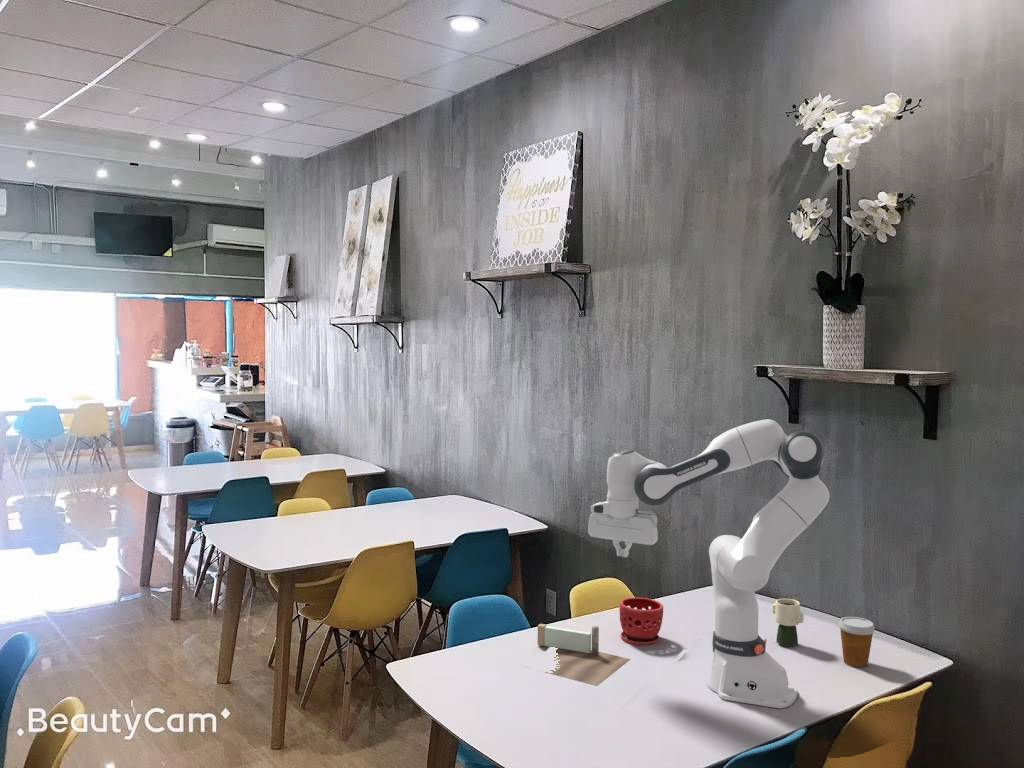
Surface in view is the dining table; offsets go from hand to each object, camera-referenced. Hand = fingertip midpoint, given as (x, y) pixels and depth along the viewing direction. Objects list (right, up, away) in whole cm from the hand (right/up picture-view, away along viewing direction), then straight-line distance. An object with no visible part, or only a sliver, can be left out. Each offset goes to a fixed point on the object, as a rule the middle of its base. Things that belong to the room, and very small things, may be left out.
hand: (622, 556), depth 227 cm
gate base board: (-13, -31, 0) cm, 34 cm away
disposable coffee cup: (+67, -31, +2) cm, 73 cm away
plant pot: (+8, -30, +18) cm, 36 cm away
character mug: (+52, -30, +16) cm, 62 cm away
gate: (-16, -29, +9) cm, 34 cm away
